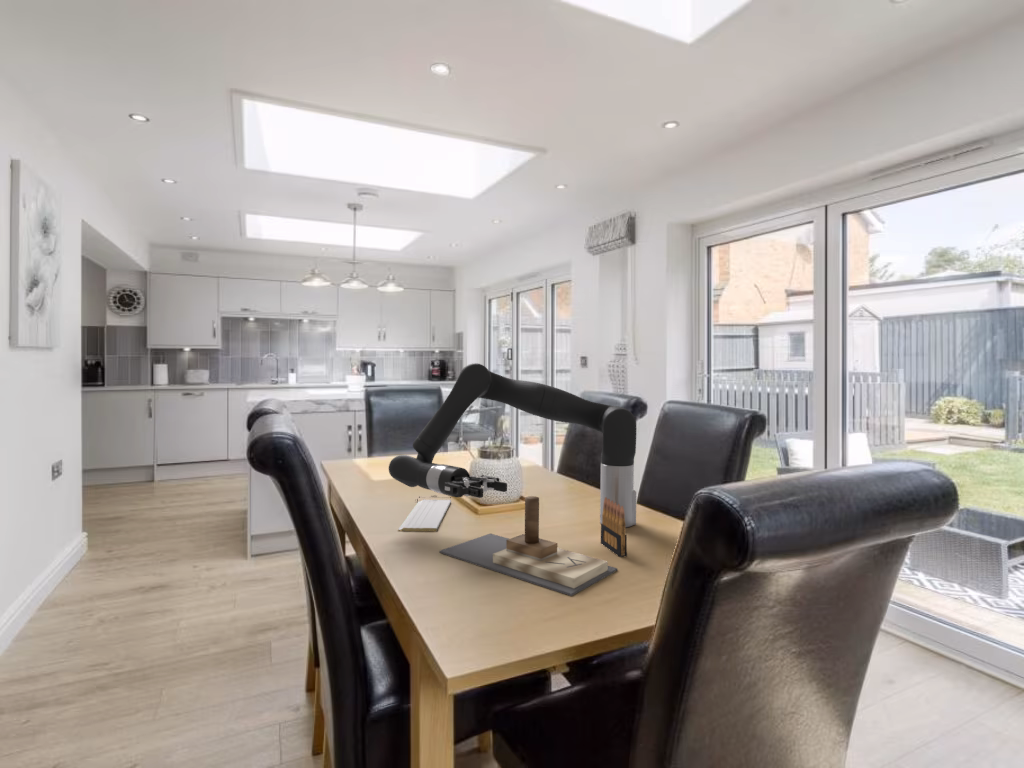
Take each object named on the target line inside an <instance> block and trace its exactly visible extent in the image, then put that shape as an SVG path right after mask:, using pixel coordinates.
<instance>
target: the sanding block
mask: <svg viewBox="0 0 1024 768" xmlns="http://www.w3.org/2000/svg"><path fill="white" fill-rule="evenodd" d="M539 536H540V497H538V496H532V495H531V496H529V495H528V496H526V497H524V533H523V534H520V535H516V536H514V537H512V538H509V539H508V540H506V551H509V552H512V553H515V554H519V555H522V556H526V557H529V558H532V559H536V560H539V561H542V560H545V559H547V558H549V557H552V556H554V555H556V554H557V548H558V542H555V541H550V540H548V539H543V538H540V537H539Z"/></svg>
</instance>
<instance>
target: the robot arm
mask: <svg viewBox="0 0 1024 768" xmlns="http://www.w3.org/2000/svg"><path fill="white" fill-rule="evenodd" d="M478 398H479V399H485V400H489V401H494V402H499V403H503V404H506V405H508V406H510V407H512V408H515V409H517V410H519V411H522V412H524V413H528V414H530V415H533V416H536V417H540V418H541V419H542V418H543V419H546V420H549V421H553V422H554V421H555V422H559V423H567V424H575V425H580V426H584V427H587V428H588V429H589V428H590V429H592V430H595V431H597V432H599V433H601V434H602V449H601V454H600V491H599V492H600V495H599V496H600V497H599V498H600V499H599V500H600V501H599V502H600V505H599V506H600V509H599V510H600V511H599V512H600V513H599V514H600V515H599V523H600V525H601V524H602V514H603V505H604V499H605V497H606V498H607V501H608V499H610V502H611V501H612V500H613V503H615V502H616V504H617V505H618V504H619V505H620V508H621V506H623V508H624V514H625V528H630V527H632V526H634V525H637V491H636V490H634V483H635V482H634V480H635V479H634V478H635V475H634V471H635V466H634V464H635V456H636V451H637V421H636V418H635V417H636V416H635V415H634V414H633V413H632V412H631V410H628V409H627V408H625V407H622V406H617V405H610V404H605V403H604V404H603V403H599V402H594V401H591V400H588V399H585V398H582V397H580V396H578V395H576V394H573V393H571V392H569V391H565V390H563V389H560V388H558V387H555V386H550V385H548V384H543V383H541V382H534V381H529V380H521V379H513V378H510V377H509V378H508V377H506V376H504V375H501V374H497V373H495V372H492V371H491V370H489V369H488V368H487V366H485V365H483V364H481V363H476V362H473V363H472V362H471V363H469V364H467V365H465V366H464V367H463V368H462V369H461V370H460V372H459V376H458V377H457V379H456V381H455V383H454V385H453V386H452V389H451V390H450V392H449V394H448V396H447V397H446V398H445V400H444V401H443V403H442V404H441V406H440V407H439V408H438V410H437V411H435V413H434V414H433V416H432V417H431V418H430V420H429V421H428V422H427V424H426V425H425V426H424V427H423V428H422V430H421V431H420V432H419V434H418V435H417V437H416V438H415V439H414V440H413V443H412V448H413V449H414V450H415V452H416V453H417V455H416V457H413V456H410V455H407V454H399V455H397V456H396V455H395V456H394V457H393V458H392V459H391V461H390V462H389V464H388V472H389V475H390V477H392V479H394V480H395V481H398V482H400V483H402V484H403V485H405V486H408V487H410V488H415V487H419V488H422V489H425V490H430V491H433V492H435V493H438V494H441V495H445V496H447V497H448V496H449V497H451V498H452V497H453V498H462V497H475V498H477V499H478V498H479V499H481V498H483V497H484V492H487V491H488V490H490V491H491V490H492V491H498V492H500V493H501V492H502V493H507V492H508V483H507V482H505V481H500V477H494V476H490V475H484V474H482V475H480V476H477V475H471V474H470V473H469V471H468V470H467V469H466V468H465V467H461V466H460V467H459V466H455V465H449V464H440V463H434V462H433V461H434V458H435V456H436V454H437V453H438V452H439V450H441V448H442V446H443V445H444V443H445V442H446V441H447V439H448V438H449V437H450V436H451V433H453V430H454V429H455V427H456V425H457V423H459V421H460V420H461V417H462V416H463V415H464V414H465V412H466V411H467V410H468V408H469V407H470V406H471V405H473V403H474V402H475V401H476V400H478ZM482 487H483V488H482Z"/></svg>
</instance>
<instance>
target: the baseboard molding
mask: <svg viewBox="0 0 1024 768" xmlns="http://www.w3.org/2000/svg"><path fill="white" fill-rule="evenodd" d="M418 498H419V499H420V498H421V496H418ZM418 498H417V499H415V500H414V501H416V500H417V501H416V505H414V507H413V508H412V510H411V511H410V513H408V515H407V517H406V518H405V519H404V521H403V522H402V524H401V525H400V526H399V527H398V529H397V531H398V530H405V531H404V532H437V531H438V528H439V526H440V524H441V523H442V521H443V519H444V516H445V515H446V512H447V510H448V508H449V507H450V505H451V502H452V500H451V498H452V496H449V497H448V496H447V497H444V496H443V497H439V496H436V494H435V495H430V498H442V499H425V498H424V499H422V500H421V501H420V500H418ZM445 498H446V499H445Z"/></svg>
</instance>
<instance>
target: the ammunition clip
mask: <svg viewBox="0 0 1024 768" xmlns="http://www.w3.org/2000/svg"><path fill="white" fill-rule="evenodd" d="M627 538H628V537H627V534H626V527H625V514H624V508H623V506H621V508H620V505H619V504H618V505H617V504H616V502H615V503H613V500H612V501H611V502H610V499H608V501H607V498H606V497H605V499H604V505H603V514H602V524H601V523H600V544H601V545H602V544H603V545H602V546H604V547H605V548H606V547H607V549H608V550H609V549H610V550H609V551H611V552H612V553H613V552H614V553H613V554H615V555H616V554H617V555H618V556H617V555H616V556H617V557H619V558H624V556H626V557H627V555H628V551H627V549H628V548H627V545H628V543H627V542H628V541H627V540H628V539H627Z"/></svg>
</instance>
